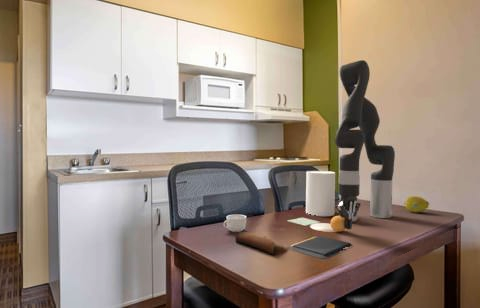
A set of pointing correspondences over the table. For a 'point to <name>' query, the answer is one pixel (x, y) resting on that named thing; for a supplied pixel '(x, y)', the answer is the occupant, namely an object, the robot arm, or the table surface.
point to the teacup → (235, 223)
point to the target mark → (322, 227)
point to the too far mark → (303, 221)
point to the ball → (337, 223)
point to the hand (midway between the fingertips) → (348, 228)
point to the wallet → (320, 247)
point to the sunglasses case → (260, 242)
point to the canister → (320, 193)
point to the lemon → (416, 204)
